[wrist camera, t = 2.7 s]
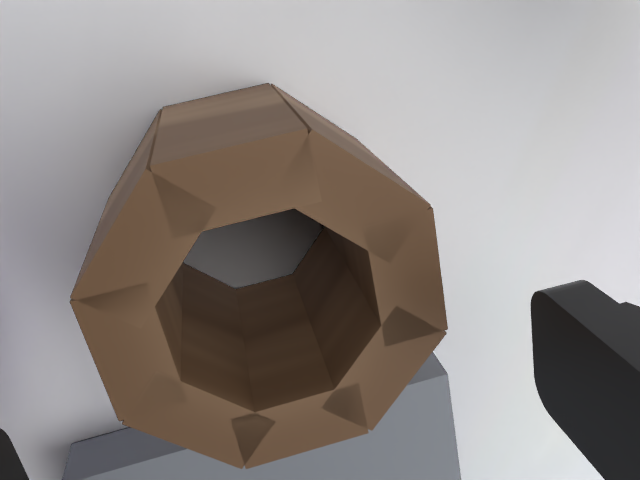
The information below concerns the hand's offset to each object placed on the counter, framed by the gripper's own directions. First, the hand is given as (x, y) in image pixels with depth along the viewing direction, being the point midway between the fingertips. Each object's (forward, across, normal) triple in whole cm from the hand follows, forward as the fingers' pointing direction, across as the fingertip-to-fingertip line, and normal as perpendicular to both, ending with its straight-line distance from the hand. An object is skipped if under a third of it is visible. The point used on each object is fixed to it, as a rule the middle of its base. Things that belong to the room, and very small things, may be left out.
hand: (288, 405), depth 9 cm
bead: (+6, 0, -1) cm, 7 cm away
